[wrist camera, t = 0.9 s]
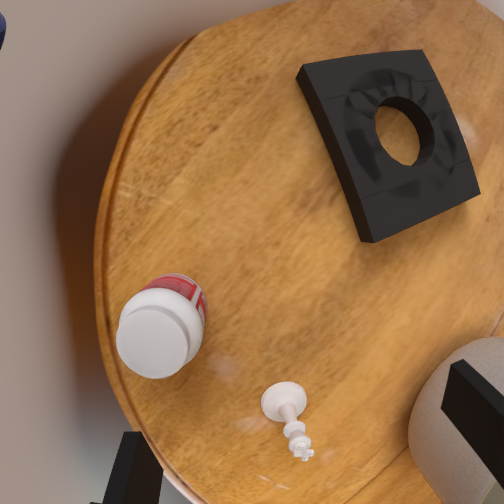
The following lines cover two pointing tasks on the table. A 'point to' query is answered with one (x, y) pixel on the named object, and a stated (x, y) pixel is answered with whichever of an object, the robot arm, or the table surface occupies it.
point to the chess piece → (288, 415)
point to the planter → (455, 431)
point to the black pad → (370, 149)
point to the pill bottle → (162, 326)
